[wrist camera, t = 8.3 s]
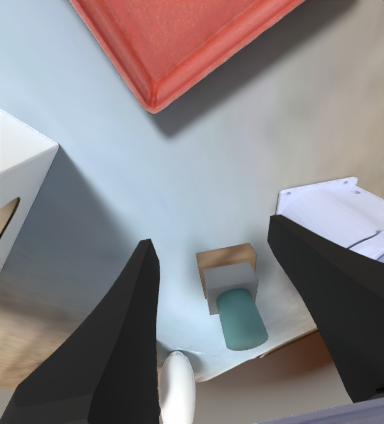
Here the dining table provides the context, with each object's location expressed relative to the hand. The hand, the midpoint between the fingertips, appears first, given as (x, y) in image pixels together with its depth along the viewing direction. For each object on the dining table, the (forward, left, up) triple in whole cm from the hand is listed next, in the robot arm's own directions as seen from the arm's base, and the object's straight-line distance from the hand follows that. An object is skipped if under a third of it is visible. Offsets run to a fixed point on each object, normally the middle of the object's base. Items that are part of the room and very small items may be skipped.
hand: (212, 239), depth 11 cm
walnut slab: (-3, +16, -11) cm, 20 cm away
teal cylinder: (-3, +16, -5) cm, 17 cm away
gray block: (-2, +16, -8) cm, 18 cm away
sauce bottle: (+11, +46, -11) cm, 48 cm away
